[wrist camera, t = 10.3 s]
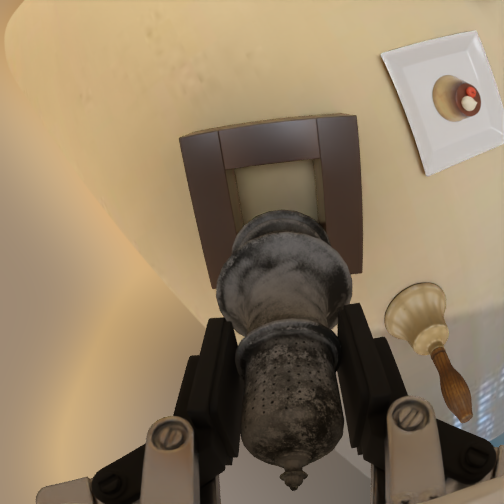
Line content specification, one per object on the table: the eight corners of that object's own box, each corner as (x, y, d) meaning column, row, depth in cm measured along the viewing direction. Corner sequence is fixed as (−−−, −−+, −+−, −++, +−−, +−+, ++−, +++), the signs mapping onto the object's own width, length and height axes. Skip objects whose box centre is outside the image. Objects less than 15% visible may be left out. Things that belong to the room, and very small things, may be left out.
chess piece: (203, 258, 17) (128, 474, 6) (282, 179, 15) (314, 392, 4) (280, 320, 18) (284, 524, 8) (359, 257, 16) (446, 465, 6)
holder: (219, 262, 32) (212, 289, 27) (193, 131, 26) (178, 137, 22) (349, 247, 30) (362, 273, 26) (341, 113, 25) (356, 115, 20)
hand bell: (426, 340, 36) (471, 438, 21) (373, 334, 35) (410, 447, 21) (455, 287, 32) (522, 382, 18) (401, 276, 32) (465, 387, 17)
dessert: (470, 31, 19) (497, 25, 15) (504, 139, 24) (532, 148, 19) (376, 55, 22) (396, 47, 18) (421, 174, 27) (445, 188, 22)
